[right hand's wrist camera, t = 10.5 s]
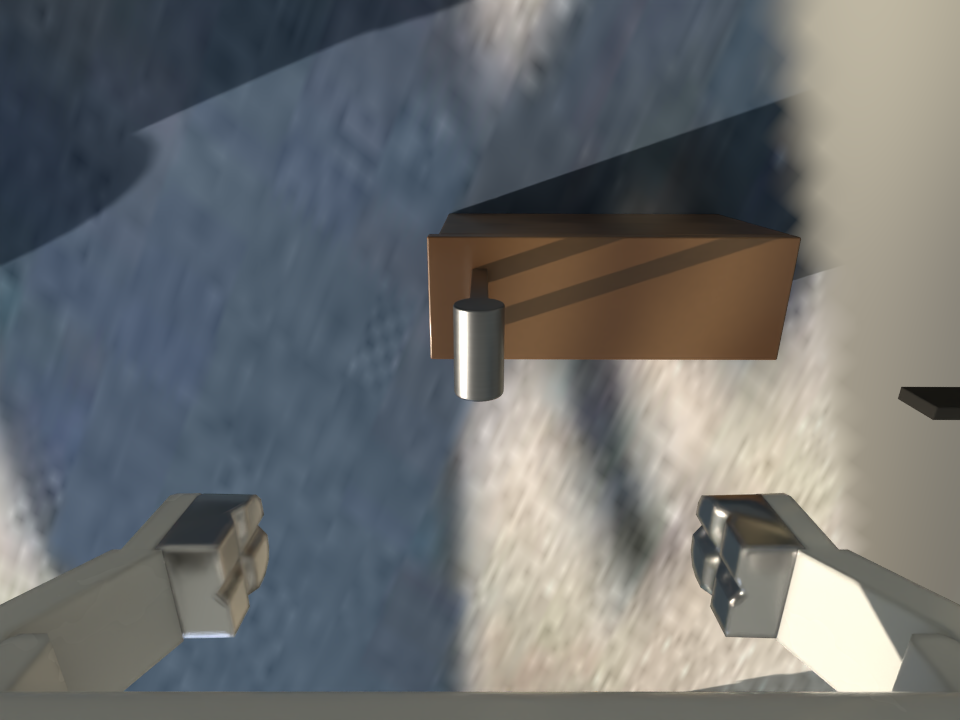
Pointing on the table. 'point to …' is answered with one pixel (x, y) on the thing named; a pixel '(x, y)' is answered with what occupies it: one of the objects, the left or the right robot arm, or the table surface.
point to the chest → (601, 224)
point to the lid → (603, 299)
